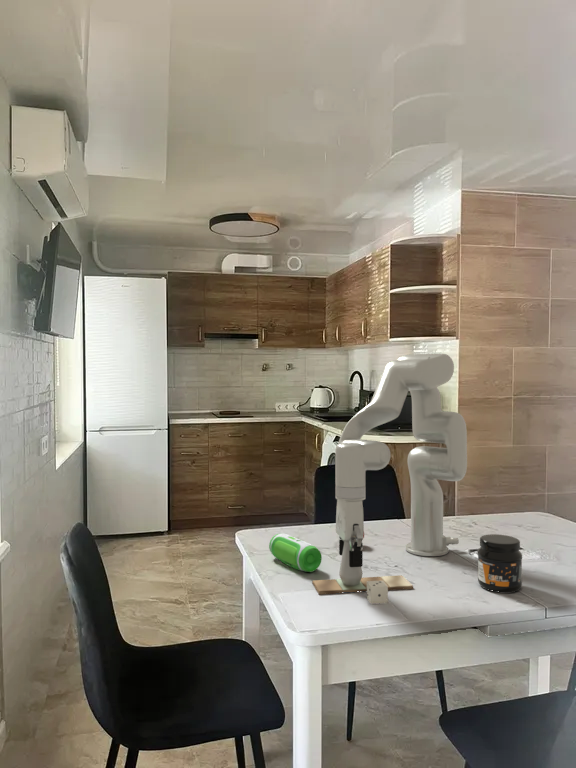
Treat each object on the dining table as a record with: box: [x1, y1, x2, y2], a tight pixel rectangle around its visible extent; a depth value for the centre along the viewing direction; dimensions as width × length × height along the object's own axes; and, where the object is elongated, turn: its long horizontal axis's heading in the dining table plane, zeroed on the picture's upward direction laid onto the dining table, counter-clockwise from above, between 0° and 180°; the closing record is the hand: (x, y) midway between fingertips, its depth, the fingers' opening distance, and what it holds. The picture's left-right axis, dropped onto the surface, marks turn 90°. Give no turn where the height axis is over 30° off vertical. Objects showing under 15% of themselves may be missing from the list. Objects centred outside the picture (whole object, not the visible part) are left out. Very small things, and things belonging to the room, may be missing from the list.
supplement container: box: [477, 533, 523, 593], centre depth 148 cm, size 10×10×12 cm
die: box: [366, 581, 389, 605], centre depth 139 cm, size 4×4×4 cm
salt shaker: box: [338, 537, 363, 586], centre depth 148 cm, size 6×6×13 cm
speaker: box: [268, 533, 323, 573], centre depth 166 cm, size 18×7×8 cm, turn 32°
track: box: [311, 575, 414, 596], centre depth 149 cm, size 24×8×1 cm, turn 99°
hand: (350, 560), depth 148 cm, fingers open, 9 cm apart
